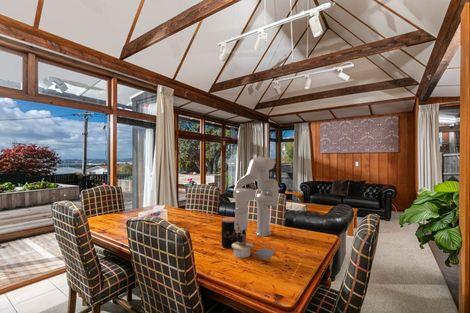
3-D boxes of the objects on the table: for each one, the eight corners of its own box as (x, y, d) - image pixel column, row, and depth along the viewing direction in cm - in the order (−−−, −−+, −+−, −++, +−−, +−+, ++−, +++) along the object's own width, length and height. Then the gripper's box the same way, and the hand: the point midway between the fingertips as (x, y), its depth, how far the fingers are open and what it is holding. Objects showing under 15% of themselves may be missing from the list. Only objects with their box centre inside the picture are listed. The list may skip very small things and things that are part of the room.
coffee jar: (223, 249, 146) (223, 221, 147) (220, 243, 157) (219, 217, 157) (239, 247, 149) (239, 220, 149) (235, 242, 159) (234, 216, 160)
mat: (261, 248, 147) (261, 247, 147) (276, 251, 142) (276, 250, 142) (252, 257, 135) (252, 256, 135) (268, 260, 130) (268, 259, 130)
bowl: (238, 250, 145) (238, 242, 145) (252, 253, 140) (252, 245, 140) (230, 256, 136) (230, 247, 136) (245, 259, 132) (245, 251, 132)
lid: (238, 241, 147) (238, 230, 147) (256, 245, 141) (256, 233, 141) (227, 248, 136) (227, 236, 136) (247, 252, 129) (247, 240, 129)
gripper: (242, 207, 148) (242, 235, 148) (229, 212, 133) (229, 244, 133) (252, 208, 144) (253, 237, 144) (240, 214, 129) (241, 246, 129)
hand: (241, 240), depth 138 cm, fingers open, 4 cm apart
